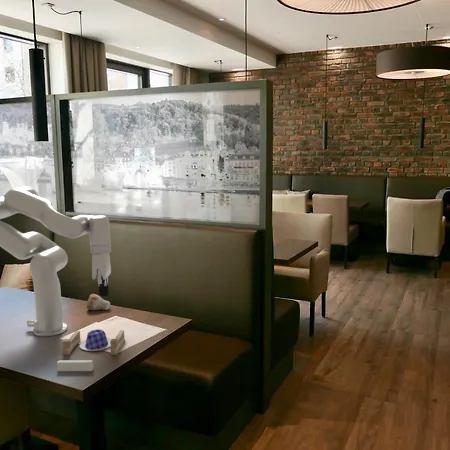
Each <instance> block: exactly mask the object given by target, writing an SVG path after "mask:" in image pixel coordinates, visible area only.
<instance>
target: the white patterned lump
mask: <svg viewBox="0 0 450 450" xmlns="http://www.w3.org/2000/svg"><path fill="white" fill-rule="evenodd" d="M110 307H111V302H110V301H108V300H105V299H103V297H102V296H99V295H98V294H95V293H91V294H90V295H89V297H88V299H87V302H86V309H87V310H89V311H97V310H104V311H108V310H109V309H110Z"/></svg>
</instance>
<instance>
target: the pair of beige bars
mask: <svg viewBox="0 0 450 450" xmlns="http://www.w3.org/2000/svg"><path fill="white" fill-rule="evenodd" d="M110 339H111V341H110V345H111V346H110V355H111V356H117V355H118V354H117V353H119V350H120V349H121V346H122V345H123V342H124V341H125V330H119V331H118V333H117V335H116V336H115V338H110ZM80 341H81V330H75V331H74V332H73V334H72V335H70V337H69V338H64V339H63V341H62V342H61V343H62V354H63V356H70V355H71V354H72V351H73V350H74V348H76V346H77V345H78V344H79V342H80Z"/></svg>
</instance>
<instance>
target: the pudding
mask: <svg viewBox="0 0 450 450" xmlns="http://www.w3.org/2000/svg"><path fill="white" fill-rule="evenodd" d="M111 339H112V338H109V337H107V334H106V332H105V331H104V330H103V329H92V330H90V331H88V332H87V335H86V339H85V340H83V341H82V342H81V343H79V348H80V349H81V350H84V351H89V352H93V351H102V350H106V349H108V348H111V345H110V341H111ZM106 346H107V347H106Z"/></svg>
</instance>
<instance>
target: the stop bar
mask: <svg viewBox="0 0 450 450" xmlns="http://www.w3.org/2000/svg"><path fill="white" fill-rule="evenodd" d="M56 363H57V364H56V365H57V372H93V370H94V361H93V359H91V360H90V359H85V360H84V359H81V360H80V359H74V360H71V359H70V360H69V359H68V360H66V359H65V360H61V359H60V360H58V361H57V362H56Z"/></svg>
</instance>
